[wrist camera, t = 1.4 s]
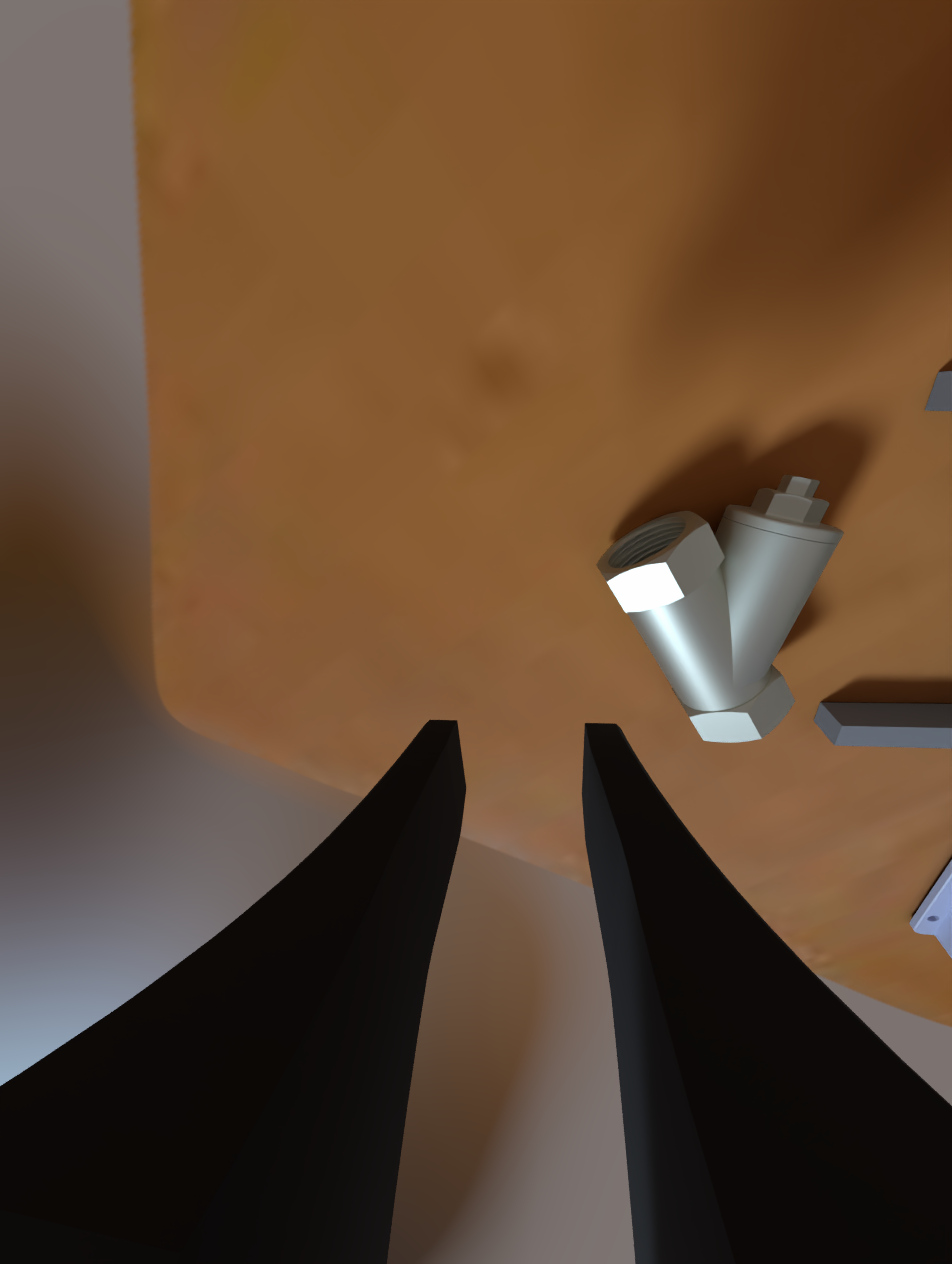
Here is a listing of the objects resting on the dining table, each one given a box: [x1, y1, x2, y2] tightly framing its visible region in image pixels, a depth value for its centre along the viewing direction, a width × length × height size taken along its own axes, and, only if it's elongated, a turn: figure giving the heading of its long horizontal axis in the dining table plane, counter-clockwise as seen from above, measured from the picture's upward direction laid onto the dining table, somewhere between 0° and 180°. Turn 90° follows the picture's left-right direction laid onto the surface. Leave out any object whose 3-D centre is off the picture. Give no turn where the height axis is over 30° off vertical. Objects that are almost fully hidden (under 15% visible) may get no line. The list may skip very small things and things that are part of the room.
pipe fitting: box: [596, 474, 844, 742], centre depth 15 cm, size 8×4×7 cm
